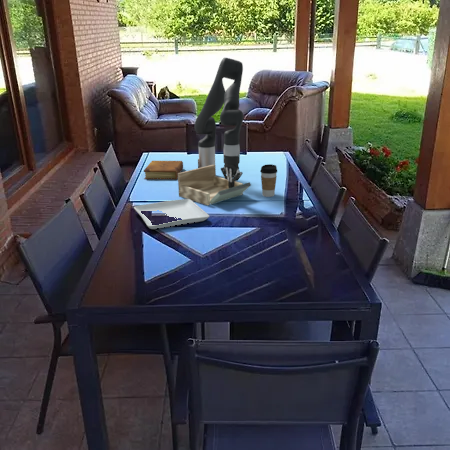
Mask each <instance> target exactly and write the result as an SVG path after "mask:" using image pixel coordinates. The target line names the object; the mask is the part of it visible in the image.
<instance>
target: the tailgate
mask: <svg viewBox="0 0 450 450" xmlns="http://www.w3.org/2000/svg"><path fill="white" fill-rule="evenodd" d="M251 186H252V183H251V182H246V183H243V184H242V185H239V186H235V187H232V188H228V189H225V190H222V191H219V192H218V193H217V194H216V195H215V196H214V197H213V198H212V199H211V200H210V205H213V204H217V203H219V202H220V203H221V202H222V201H226V200H229V199H232V198H236V197H239V196H242V195H241V194H242V193H243V194H244V193H245V191H247V190H248V188H250V187H251Z"/></svg>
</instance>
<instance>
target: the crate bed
mask: <svg viewBox="0 0 450 450" xmlns="http://www.w3.org/2000/svg"><path fill="white" fill-rule="evenodd" d="M216 170H217V169H216V164H215V165H210V166H206V167H201V168H198V167H197V168H194V169H190V170H186V171H181V173H178V178H177V182H178V183H177V185H178V197H179V198H182V199H183V198H184V199H190V200H192V201H193V202H194V203H195V202H196V203H199V204H203V205H205V206H209V205H211V204H210V200H211V199H212V198H213V197H214V196H215V195H216V194H217V193H218V192H219V191H222V190H225V189H228V188H229V187H228V180H227V179H225V177H220V176H217V175H216V174H217V173H216V172H217V171H216ZM242 184H244V183H242V182H239V181H235V186H239V185H242ZM243 194H244V192H243V193H242V194H241V195H240V196H242V195H243Z"/></svg>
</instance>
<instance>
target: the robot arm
mask: <svg viewBox="0 0 450 450" xmlns="http://www.w3.org/2000/svg"><path fill="white" fill-rule="evenodd" d="M243 71H244V65H243V62H241V61H239V60H237V59H232V58H230V57H223V58H222V59H221V61H220V63H219V66H218V68H217V71H216V75H215V78H214V81H213V84H212V85H211V87H210V90H209V92H208V94H207V97H206V99H205V102H204V104H203V106H202V108H201V111H200V112H199V114H198V115H197V118H196V119H195V120H194V121H195V122H194V128H193V129H194V131H195V133H196V134H197V135H205V136H204V137H203V138H202V139H200V140H199V141H198V142H197V143H198V144H197V145H198V158H197V168H201V167H206V166H210V165H215V166H216V140H217V139H216V138H217V137H216V136H217V134H216V133H217V124H216V120H215V118H214V117H213V116H215V114H217V113H218V112H219V111H220V110H221V109H222V110H221V112H220V115H219V122H220V123H221V125H223V126H226V127H227V126H229V127H230V126H231V127H232V126H235V127H234V128H232V129H229V130H228V129H227V130H226V131H224V133H223V136H224V137H223V164H224V166H223V167H221V168H220V171H221V173H222V175H223V178H225V179H227V180H228V187H229V188H232V187H235V181H236V182H239V180H240V178H241V177H242V175H243V171H240V167H239V164H240V161H241V160H240V158H241V157H240V155H241V154H240V153H241V151H240V150H241V148H240V133H241V128H242V125H243V122H244V117H245V116H244V112H243V111H242V110H240V109H239V108H240V91H241V84H242V78H243ZM224 78H225V79H227V80H228V79H229V80H232V81H233V83H231V85H230V86H228V88H227V89H225V86H224V81H223V79H224Z"/></svg>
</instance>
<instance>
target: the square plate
mask: <svg viewBox="0 0 450 450" xmlns="http://www.w3.org/2000/svg"><path fill="white" fill-rule="evenodd" d="M133 209H134V210H135V212H137V213H138V215H139V216H140V217H141V219H142V220H143V222H144V223H145V224H146V227H148V228H149V229H151V230H156V229H157V228H159V229H164V227H165V228H170V226H171V227H175V225H177V226H182V225H181V224H183V225H188V224H187V223H189V224H194V222H195V223H199V222H204V221H206V220H207V219H208V218H210V214H208V212H206V211H205V210H203V209H202V207H200V206H199V205H197V204H196V203H195V201H192V200H190V199H186V198H184V199H183V198H182V199H175V200H166V201H159V202H154V203H153V202H152V203H146V204H141V205H136V206H133ZM157 210H159V211H162V212H163V213H166V214H167V216H169V217H174V218H175V217H176V218H177V219H178V218H181V219H182V220H177V221H172V222H168V223H163V224H159V225H152V223H151V221H150V220H149V219H148V218H147V217H146V216H145V215H144V214H142V213H141V211H157ZM166 214H165V215H166ZM176 218H175V219H176Z"/></svg>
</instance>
